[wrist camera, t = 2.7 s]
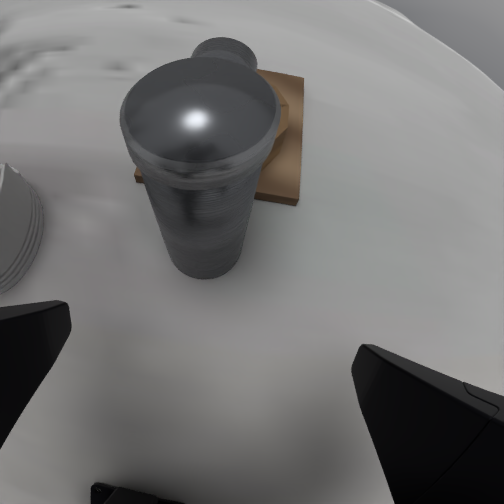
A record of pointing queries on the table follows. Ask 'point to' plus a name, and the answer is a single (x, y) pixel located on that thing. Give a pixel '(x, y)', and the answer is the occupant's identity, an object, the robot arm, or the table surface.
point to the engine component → (17, 226)
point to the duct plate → (292, 146)
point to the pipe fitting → (202, 150)
